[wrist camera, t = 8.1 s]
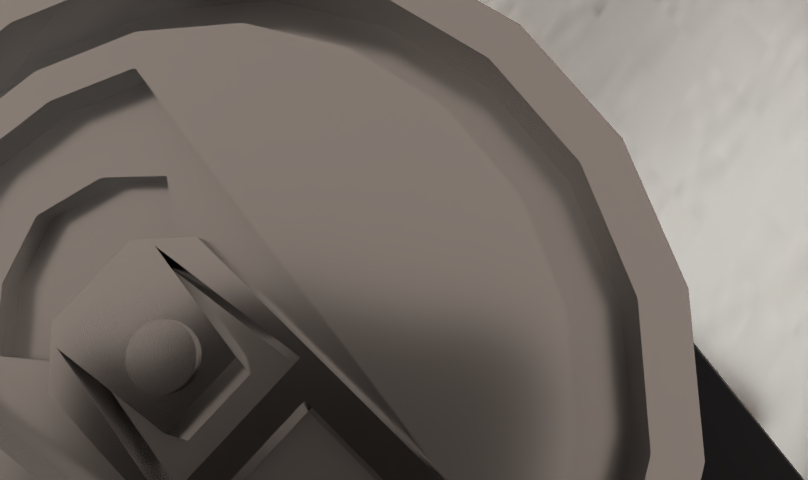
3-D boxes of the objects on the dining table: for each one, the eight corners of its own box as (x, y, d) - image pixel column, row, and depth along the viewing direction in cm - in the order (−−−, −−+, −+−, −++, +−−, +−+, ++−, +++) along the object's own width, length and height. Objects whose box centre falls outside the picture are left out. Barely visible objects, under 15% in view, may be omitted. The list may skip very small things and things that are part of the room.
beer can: (587, 350, 15) (1028, 365, 3) (418, 536, 14) (158, 1357, 3) (407, 188, 16) (194, -286, 4) (246, 360, 15) (-489, 403, 4)
